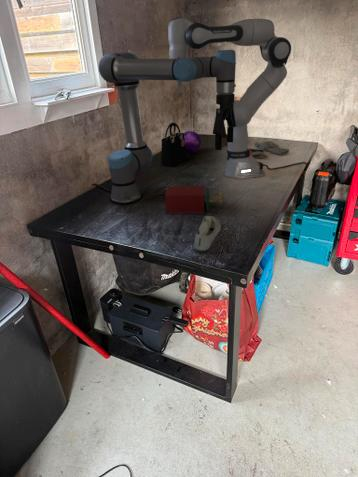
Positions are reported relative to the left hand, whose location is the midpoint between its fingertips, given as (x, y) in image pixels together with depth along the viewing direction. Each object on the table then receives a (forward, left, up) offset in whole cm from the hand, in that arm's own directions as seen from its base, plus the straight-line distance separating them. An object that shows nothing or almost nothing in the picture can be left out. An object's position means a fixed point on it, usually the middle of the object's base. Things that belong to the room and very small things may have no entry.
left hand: (224, 146), depth 144 cm
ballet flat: (+6, -34, -27) cm, 44 cm away
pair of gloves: (-5, +86, -27) cm, 90 cm away
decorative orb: (-51, +72, -27) cm, 93 cm away
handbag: (-52, +49, -27) cm, 77 cm away
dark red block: (-14, -13, -27) cm, 33 cm away
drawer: (-9, -10, -26) cm, 29 cm away
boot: (-38, +102, -27) cm, 112 cm away
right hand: (-34, +26, +20) cm, 47 cm away
